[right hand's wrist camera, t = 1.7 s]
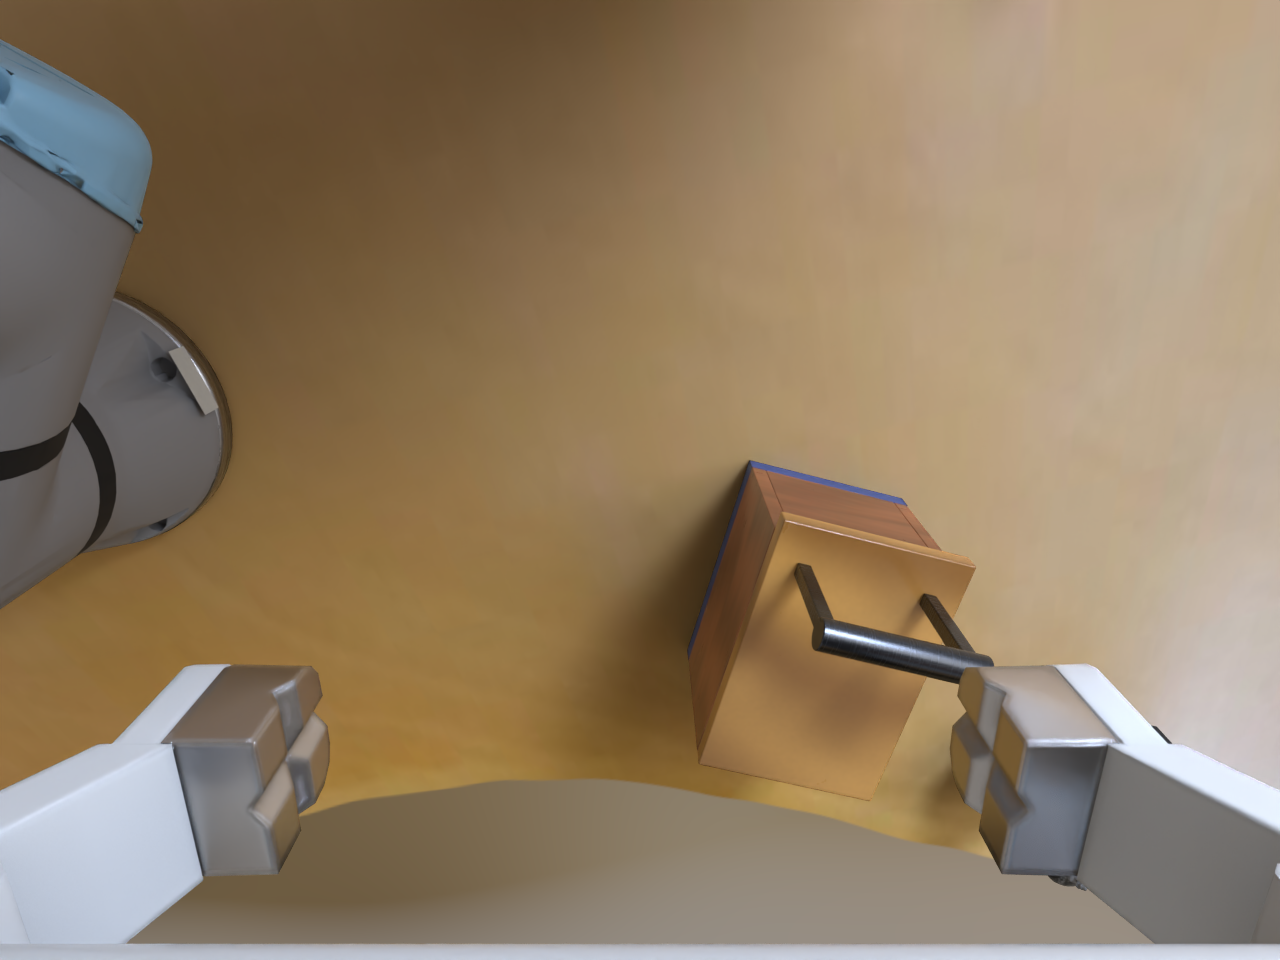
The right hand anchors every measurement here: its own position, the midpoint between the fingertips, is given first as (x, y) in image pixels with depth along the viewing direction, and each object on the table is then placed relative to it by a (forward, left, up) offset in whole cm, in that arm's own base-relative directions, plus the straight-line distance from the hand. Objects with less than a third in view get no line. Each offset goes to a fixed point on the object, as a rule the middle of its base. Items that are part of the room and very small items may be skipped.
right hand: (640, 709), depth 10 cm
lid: (+5, +19, -28) cm, 35 cm away
